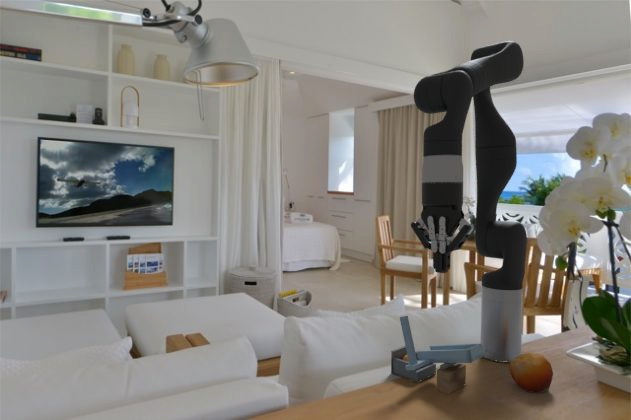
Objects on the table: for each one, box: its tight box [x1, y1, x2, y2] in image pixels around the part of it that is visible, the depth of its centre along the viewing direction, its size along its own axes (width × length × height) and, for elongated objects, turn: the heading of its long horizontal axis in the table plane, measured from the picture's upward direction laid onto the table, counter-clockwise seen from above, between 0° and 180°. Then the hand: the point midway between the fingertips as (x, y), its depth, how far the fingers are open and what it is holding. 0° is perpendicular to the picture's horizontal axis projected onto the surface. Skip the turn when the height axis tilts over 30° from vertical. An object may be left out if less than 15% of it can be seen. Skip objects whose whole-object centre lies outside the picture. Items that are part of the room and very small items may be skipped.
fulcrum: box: [436, 363, 467, 395], centre depth 89 cm, size 7×3×6 cm, turn 133°
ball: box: [402, 355, 418, 362], centre depth 97 cm, size 4×4×4 cm
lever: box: [399, 315, 485, 370], centre depth 88 cm, size 11×12×10 cm
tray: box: [390, 345, 437, 383], centre depth 96 cm, size 7×7×5 cm
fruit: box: [508, 352, 554, 393], centre depth 89 cm, size 8×8×8 cm
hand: (441, 272), depth 83 cm, fingers closed
